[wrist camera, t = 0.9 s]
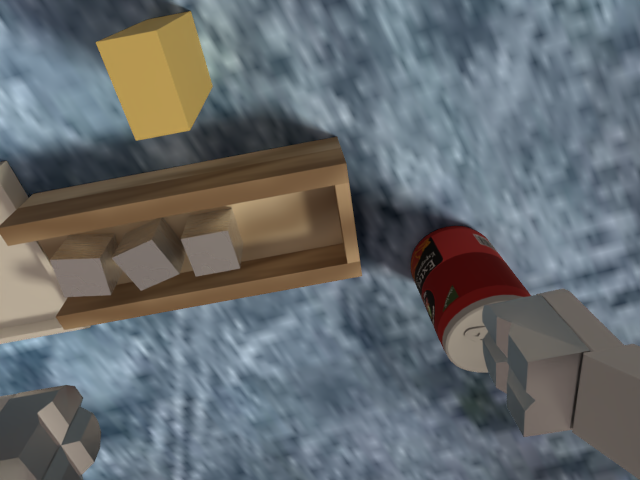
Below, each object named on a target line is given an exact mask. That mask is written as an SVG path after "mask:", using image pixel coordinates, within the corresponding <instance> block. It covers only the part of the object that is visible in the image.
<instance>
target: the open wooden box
mask: <svg viewBox="0 0 640 480" xmlns="http://www.w3.org/2000/svg"><path fill="white" fill-rule="evenodd" d="M228 208H232V210H233V213H234V216H235V219H236V222H237V226H238V229H239V232H240V235H241V238H242V241H243V250H242V258H241V267H240V269H235V270H229V271H224V272H218V273H213V274H207V275H202V276H195V273H194V271H193V268H192V266H191V263H190V261H189V258H188V256H187V253H186V255H185V258H184V262H183V265H182V268H181V271H180V274H178V275H176V276H174V277H172V278H169V279H167V280H165V281H163V282H160V283H158V284H156V285H153V286H151V287H149V288H147V289H144V290H142V291H141V290H140V289H139V288H138V287H137V286H136V285H135V284H134V282H133V281H132V280H131V279H130V278H129V277H128V276H127V275H126V274H125V272H124V271H123V272H122V274H121V276H120V278H119V280H118V282H117V284H116V286H115V288H114V290H113V292H112V294H111V295H103V296H80V297H68V298H67V299H66V301H65V303H64V304H63V306H62V307H61V309H60V311H59V312H58V314H57V315H56V319H57V320H58V321H59V323H60V324H61V326H62V327H63V329H64V330H68V329H74V328H79V327H85V326H90V325H96V324H101V323H107V322H112V321H118V320H123V319H129V318H134V317H140V316H145V315H151V314H156V313H162V312H167V311H172V310H178V309H183V308H189V307H194V306H200V305H205V304H211V303H216V302H222V301H227V300H233V299H238V298H244V297H249V296H255V295H260V294H266V293H271V292H277V291H282V290H288V289H293V288H299V287H304V286H310V285H315V284H321V283H326V282H332V281H337V280H343V279H348V278H354V277H359V276H362V272H361V265H360V258H359V250H358V243H357V236H356V229H355V222H354V215H353V208H352V201H351V194H350V186H349V179H348V172H347V165H346V161H345V158H344V155H343V152H342V150H341V147H340V144H339V141H338V138H337V137H332V138H327V139H322V140H316V141H311V142H306V143H300V144H295V145H290V146H285V147H279V148H274V149H269V150H263V151H258V152H253V153H247V154H242V155H237V156H231V157H226V158H221V159H216V160H210V161H205V162H200V163H194V164H189V165H184V166H178V167H173V168H168V169H162V170H157V171H152V172H147V173H141V174H136V175H131V176H125V177H120V178H115V179H109V180H104V181H99V182H93V183H88V184H83V185H77V186H72V187H67V188H62V189H56V190H51V191H46V192H40V193H35V194H32V195H31V196H30V197H29V198H28V199H27V200H26V201H25V202H24V203H23V204H22V205H21V206H20V207H19V208H18V209H17V210H16V211H14V212H13V213H12V214H11V215H10V216H9V217H8V218H7V219H6V220H5V221H4V222H3V223H2V224H1V225H0V235H1V236H2V238H3V239H4V241H5V242H6V244H7V245H8V246H11V245H17V244H22V243H28V242H33V241H38V242H39V244H40V245H41V247H42V249H43V250H44V252H45V253H46V255H47V257H48V258H49V260H50V259H51V258H52V257H53V255H54V254H55V253H56V251H57V250H58V249H59V247H60V246H61V245H62V243H63V242H64V241H65V240H66V238H67V237H68V236H69V235H80V234H110V233H114V234H115V237H116V241H117V244H118V246H119V244H120V242H121V240H122V239H123V237H124V235H125V233H127V232H129V231H132V230H134V229H136V228H138V227H140V226H142V225H144V224H147V223H149V222H151V221H153V220H155V219H157V218H162V217H163V218H164V219H165V220H166V221H167V223H168V224H169V225H170V227H171V228H172V229H173V231H174V232H175V233H176V234H177V236H178V237H179V238H180V240H181V237H182V234H183V231H184V228H185V225H186V223H187V220H188V217H189V216H190V215H195V214H201V213H206V212H212V211H217V210H222V209H228Z"/></svg>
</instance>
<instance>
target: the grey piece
mask: <svg viewBox="0 0 640 480" xmlns="http://www.w3.org/2000/svg"><path fill="white" fill-rule="evenodd" d="M185 255H186V251H185V249H184V246H183V244H182V241H181V240H180V238H179V237H178V236H177V234H176V233H175V232H174V231H173V229H172V228H171V227H170V225H169V224H168V223H167V221H166V220H165V219H164V218H163V217H162V218H157V219H155V220H153V221H151V222H149V223H147V224H144V225H142V226H140V227H138V228H136V229H134V230H132V231H129V232H127V233H125V235H124V237H123V239H122V240H121V242H120V244H119V246H118V247H117V249H116V251H115V253H114V255H113V256H112V259H113V260H114V261H115V263H116V264H117V265H118V266H119V267H120V268H121V269H122V270H123V271H124V272H125V274H126V275H127V276H128V277H129V278H130V279H131V280H132V281H133V282H134V284H135V285H136V286H137V287H138V288H139V289H140V290H141V291H142V290H144V289H147V288H149V287H151V286H153V285H156V284H158V283H160V282H163V281H165V280H167V279H169V278H172V277H174V276H176V275H178V274H180V271H181V268H182V265H183V262H184V258H185Z"/></svg>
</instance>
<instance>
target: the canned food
mask: <svg viewBox="0 0 640 480" xmlns="http://www.w3.org/2000/svg"><path fill="white" fill-rule="evenodd" d="M411 273H412V276H413V279H414V281H415V284H416V286H417V288H418V291H419V293H420V295H421V298H422V300H423V302H424V305H425V307H426V310H427V312H428V314H429V317H430V319H431V321H432V324H433V326H434V328H435V331H436V333H437V336H438V338H439V340H440V342H441V344H442V346H443V349H444V351H445V352H446V354H447V356H448V357H449V359H450V360H451V361H452V362H453V363H454V364H455V365H456V366H458V367H460V368H462V369H465V370H468V371H473V372H488V370H487V367H486V363H485V359H484V355H483V341H482V339H483V338H484V337H485V335H486V334H487V333H488V330H487V329H486V327H485V325H484V324H483V322H482V311H483V308H484V305H487V304H492V303H498V302H503V301H508V300H513V299H518V298H523V297H528V296H531V295H530V294H529V292H528V291H527V290H526V288H525V287H524V286H523V285H522V283H521V282H520V281H519V279H518V278H517V277H516V276H515V274H514V273H513V272H512V270H511V269H510V268H509V266H508V265H507V264H506V263H505V261H504V260H503V259H502V257H501V256H500V255H499V254H498V252H497V251H496V250H495V248H494V247H493V246H492V244H491V243H490V242H489V241H488V239H487V238H486V237H485V236H483V235H482V234H481V233H479V232H477V231H475V230H473V229H471V228H468V227H463V226H450V227H444V228H441V229H438V230H436V231H434V232H432V233H430V234H429V235H427V236H426V237H424V238H423V239H422V240H421V241H420V242H419V244H418V245H417V246H416V248H415V250H414V252H413V254H412V258H411Z"/></svg>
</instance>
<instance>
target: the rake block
mask: <svg viewBox="0 0 640 480" xmlns="http://www.w3.org/2000/svg"><path fill="white" fill-rule="evenodd" d="M96 45H97V47H98V49H99V52H100V54H101V57H102V59H103V62H104V64H105V66H106V69H107V71H108V74H109V76H110V79H111V81H112V84H113V86H114V88H115V91H116V93H117V96H118V98H119V101H120V103H121V105H122V108H123V110H124V113H125V115H126V118H127V120H128V122H129V125H130V127H131V130H132V132H133V135H134V137H135V140H136V141H137V140H143V139H148V138H153V137H158V136H164V135H169V134H174V133H179V132H185V131H190V130H191V128H192V126H193V124H194V122H195V120H196V118H197V116H198V114H199V112H200V110H201V108H202V106H203V104H204V102H205V100H206V98H207V97H208V95H209V93H210V91H211V89H212V87H213V86H212V83H211V79H210V76H209V72H208V69H207V65H206V62H205V58H204V55H203V52H202V48H201V45H200V41H199V38H198V34H197V31H196V27H195V24H194V21H193V17H192V14H191V11H189V12H184V13H178V14H173V15H168V16H163V17H158V18H153V19H148V20H145V21H143V22H141V23H138V24H136V25H134V26H131V27H129V28H127V29H125V30H122V31H120V32H118V33H116V34H113V35H111V36H109V37H106V38H104V39H102V40H100V41H97V42H96Z"/></svg>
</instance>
